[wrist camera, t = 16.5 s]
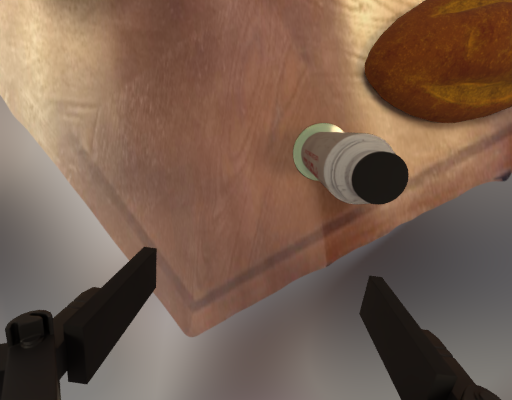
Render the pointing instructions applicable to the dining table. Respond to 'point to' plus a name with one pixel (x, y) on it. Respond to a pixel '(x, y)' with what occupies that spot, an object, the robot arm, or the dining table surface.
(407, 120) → the dining table surface
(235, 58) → the dining table surface
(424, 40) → the bread
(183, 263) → the dining table surface
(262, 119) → the dining table surface
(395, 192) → the thermos bottle
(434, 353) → the robot arm
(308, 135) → the trivet
